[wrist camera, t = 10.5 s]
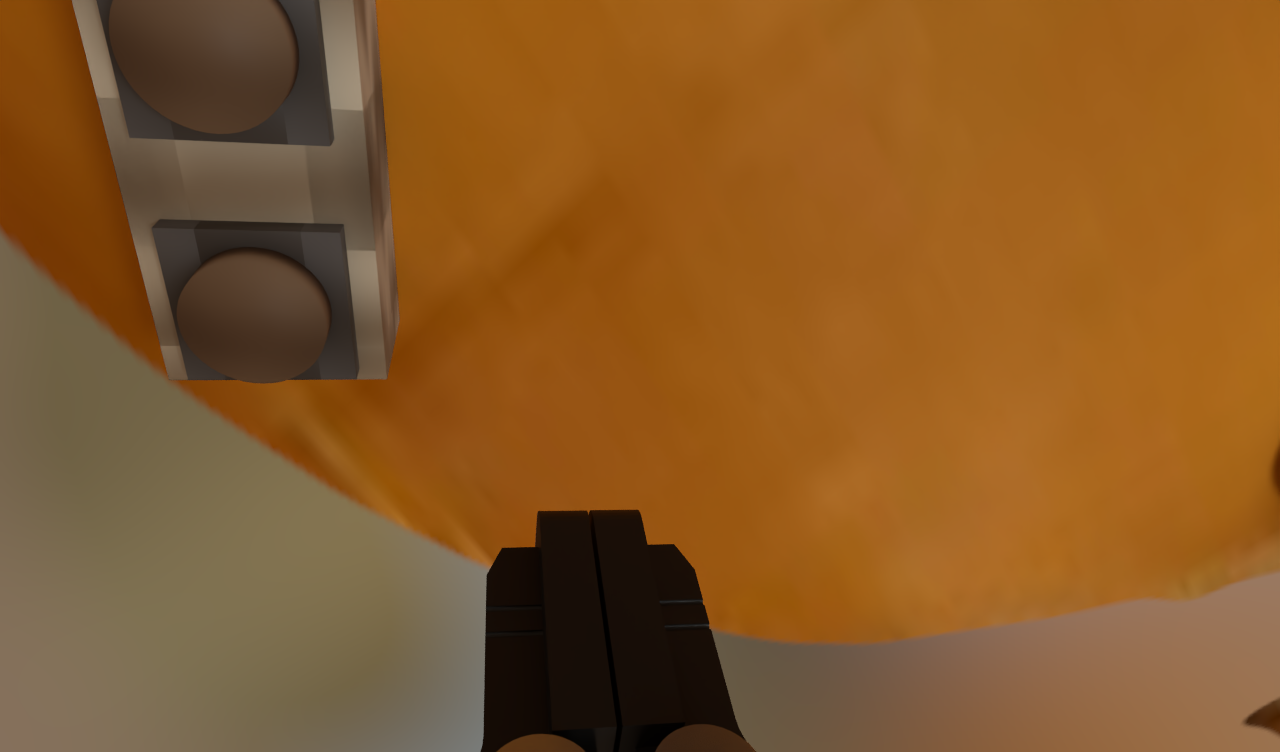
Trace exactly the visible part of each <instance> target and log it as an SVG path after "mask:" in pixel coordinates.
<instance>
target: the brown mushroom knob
mask: <svg viewBox="0 0 1280 752" xmlns="http://www.w3.org/2000/svg"><path fill="white" fill-rule="evenodd" d="M177 321H178V326H179V329H180V332H181V334H182V337H183V339H184V341H185V342H186V344H187V345H188V347H189V348H190V349H191V350H192V352H193V353H194V354H195V355H196V356H197V357H198V358H199V359H200V360H201V361H202V362H204V363H205V364H206V365H208V366H209V367H211V368H212V369H214V370H216V371H217V372H219V373H221V374H224V375H226V376H228V377H231V378H234V379H237V380H241V381H245V382H252V383H275V382H281V381H285V380H288V379H291V378H293V377H296V376H298V375H300V374H301V373H303V372H305V371H306V370H307V369H308V368H310V367H311V366H312V365H313V364H314V363H315V362H316V360H317V359H318V357H319V356H320V354H321V352H322V350H323V348H324V345H325V342H326V339H327V336H328V334H329V331H330V327H331V321H332V309H331V304H330V301H329V298H328V295H327V293H326V291H325V289H324V287H323V286H322V284H321V283H320V281H319V280H318V279H317V278H316V277H315V275H314V274H313V273H312V272H311V271H310V270H308V269H307V268H306V267H305V266H304V265H302V264H301V263H299V262H298V261H296V260H294V259H293V258H291V257H289V256H287V255H284V254H282V253H280V252H277V251H273V250H270V249H265V248H258V247H239V248H233V249H229V250H225V251H222V252H220V253H218V254H215V255H213V256H212V257H210V258H209V259H207V260H206V261H205V262H204V263H203V264H201V266H200V267H199V268H198V269H197V270H196V272H195V273H194V274H193V276H192V277H191V278H190V280H189V281H188V283H187V284H186V285H185V287H184V288H183V290H182V292H181V294H180V297H179V300H178V304H177Z"/></svg>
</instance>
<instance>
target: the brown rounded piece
mask: <svg viewBox="0 0 1280 752" xmlns="http://www.w3.org/2000/svg"><path fill="white" fill-rule="evenodd" d="M109 36H110V41H111V46H112V50H113V53H114V56H115V59H116V61H117V63H118V65H119V68H120V69H121V71H122V73H123V75H124V76H125V78H126V80H127V81H128V82H129V84H130V85H131V86H132V88H133V89H134V90H135V91H136V93H137V94H138V95H139V96H140V97H141V98H142V99H143V100H144V101H145V102H146V103H147V104H149V105H150V106H151V107H152V108H153V109H155V110H156V111H157V112H159V113H160V114H161V115H163V116H165V117H166V118H168V119H170V120H171V121H173V122H175V123H177V124H180V125H182V126H184V127H187V128H190V129H193V130H196V131H201V132H205V133H213V134H231V133H238V132H242V131H245V130H249V129H251V128H253V127H255V126H258V125H259V124H261V123H262V122H264V121H265V120H267V119H268V118H269V117H270V116H271V115H272V114H273V113H274V112H275V111H276V110H277V109H278V108H279V107H280V106H281V104H282V103H283V102H284V101H285V100H286V98H287V97H288V96H289V94H290V92H291V91H292V89H293V87H294V84H295V81H296V79H297V74H298V70H299V46H298V41H297V36H296V33H295V30H294V27H293V24H292V22H291V20H290V18H289V16H288V14H287V12H286V10H285V9H284V7H283V5H282V4H281V3H280V1H279V0H113V1H112V5H111V8H110V14H109Z"/></svg>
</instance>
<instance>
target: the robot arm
mask: <svg viewBox="0 0 1280 752" xmlns="http://www.w3.org/2000/svg"><path fill="white" fill-rule="evenodd" d="M486 589H487V590H486V636H485V691H484V693H485V694H484V737H483V745H482V749H481V752H756V751H755V750H754V749H753V748H752V747H751V745H750V744H749V743H747V742H746V740H745V738H744V737H743V735H742V733H741V731H740V730H739V727H738V725H737V722H736V719H735V715H734V712H733V708H732V704H731V701H730V697H729V694H728V690H727V686H726V683H725V679H724V675H723V672H722V668H721V664H720V660H719V657H718V653H717V650H716V647H715V642H714V639H713V635H712V631H711V629H709V620H708V617H707V613H706V609H705V606H704V605H703V598H702V595H701V591H700V587H699V584H698V580H697V576H696V573H695V569H694V568H693V567H692V566H691V564H690V563H689V562H688V561H687V560H686V558H685V557H684V556H683V555H682V553H681V552H680V551H679V550H678V548H677V547H676V546H675V545H674V544H663V545H647V541H646V536H645V531H644V526H643V522H642V517H641V514H640V512H639V510H590V512H589V515H588V512H587V511H538V514H537V526H536V542H535V547H520V548H502V549H501V551H500V552H499V554H498V556H497V558H496V560H495V561H494V563H493V565H492V567H491V568H490V570H489V572H488V574H487V587H486Z"/></svg>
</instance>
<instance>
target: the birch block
mask: <svg viewBox="0 0 1280 752" xmlns="http://www.w3.org/2000/svg"><path fill="white" fill-rule="evenodd" d="M112 1H113V0H72V3H73V7H74V11H75V15H76V19H77V23H78V26H79V30H80V34H81V38H82V42H83V46H84V50H85V54H86V58H87V62H88V65H89V69H90V73H91V77H92V81H93V85H94V89H95V93H96V97H97V101H98V104H99V108H100V112H101V116H102V120H103V124H104V128H105V132H106V136H107V140H108V144H109V147H110V151H111V155H112V159H113V163H114V167H115V171H116V175H117V179H118V183H119V186H120V190H121V194H122V198H123V202H124V206H125V210H126V214H127V218H128V222H129V225H130V229H131V233H132V237H133V241H134V245H135V249H136V253H137V257H138V261H139V264H140V268H141V272H142V276H143V280H144V284H145V288H146V292H147V296H148V300H149V303H150V307H151V311H152V315H153V319H154V323H155V327H156V331H157V335H158V339H159V342H160V346H161V350H162V354H163V358H164V362H165V366H166V370H167V374H168V378H169V380H237V379H234V378H231V377H228V376H226V375H224V374H221V373H219V372H217V371H216V370H214V369H212V368H211V367H209V366H208V365H206V364H205V363H204V362H202V361H201V360H200V359H199V358H198V357H197V356H196V355H195V354H194V353H193V352H192V350H191V349H190V348H189V347H188V345H187V344H186V342H185V341H184V339H183V337H182V334H181V332H180V329H179V326H178V321H177V304H178V300H179V297H180V294H181V292H182V290H183V288H184V287H185V285H186V284H187V283H188V281H189V280H190V278H191V277H192V276H193V274H194V273H195V272H196V270H197V269H198V268H199V267H200V266H201V264H203V263H204V262H205V261H206V260H207V259H209V258H210V257H212V256H213V255H215V254H218V253H220V252H222V251H225V250H229V249H233V248H239V247H258V248H265V249H270V250H273V251H277V252H280V253H282V254H284V255H287V256H289V257H291V258H293V259H294V260H296V261H298V262H299V263H301V264H302V265H304V266H305V267H306V268H307V269H308V270H310V271H311V272H312V273H313V274H314V275H315V277H316V278H317V279H318V280H319V281H320V283H321V284H322V286H323V287H324V289H325V291H326V293H327V295H328V298H329V301H330V304H331V309H332V321H331V327H330V331H329V334H328V336H327V339H326V342H325V345H324V348H323V350H322V352H321V354H320V356H319V357H318V359H317V360H316V362H315V363H314V364H313V365H312V366H311V367H310V368H308V369H307V370H306V371H305V372H303V373H301V374H300V375H298V376H296V377H293V378H291V379H288V380H317V379H387V377H388V372H389V367H390V362H391V358H392V353H393V348H394V344H395V339H396V334H397V329H398V325H399V320H400V319H399V306H398V293H397V280H396V267H395V254H394V241H393V227H392V214H391V201H390V188H389V175H388V162H387V149H386V136H385V123H384V110H383V97H382V83H381V70H380V57H379V44H378V31H377V18H376V5H375V0H279V1H280V3H281V4H282V5H283V7H284V9H285V10H286V12H287V14H288V16H289V18H290V20H291V22H292V24H293V27H294V30H295V33H296V36H297V41H298V46H299V70H298V74H297V79H296V81H295V84H294V87H293V89H292V91H291V92H290V94H289V96H288V97H287V98H286V100H285V101H284V102H283V103H282V104H281V106H280V107H279V108H278V109H277V110H276V111H275V112H274V113H273V114H272V115H271V116H270V117H269V118H268V119H267V120H265V121H264V122H262V123H261V124H259V125H258V126H255V127H253V128H251V129H249V130H245V131H242V132H238V133H231V134H213V133H205V132H201V131H196V130H193V129H190V128H187V127H184V126H182V125H180V124H177V123H175V122H173V121H171V120H170V119H168V118H166V117H165V116H163V115H161V114H160V113H159V112H157V111H156V110H155V109H153V108H152V107H151V106H150V105H149V104H147V103H146V102H145V101H144V100H143V99H142V98H141V97H140V96H139V95H138V94H137V93H136V91H135V90H134V89H133V88H132V86H131V85H130V84H129V82H128V81H127V80H126V78H125V76H124V75H123V73H122V71H121V69H120V68H119V65H118V63H117V61H116V59H115V56H114V53H113V50H112V46H111V41H110V36H109V14H110V8H111V5H112Z"/></svg>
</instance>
